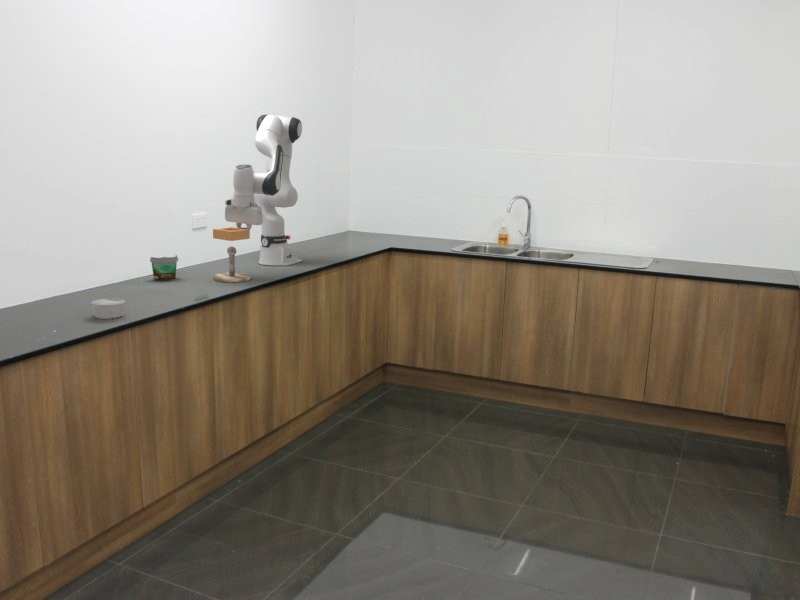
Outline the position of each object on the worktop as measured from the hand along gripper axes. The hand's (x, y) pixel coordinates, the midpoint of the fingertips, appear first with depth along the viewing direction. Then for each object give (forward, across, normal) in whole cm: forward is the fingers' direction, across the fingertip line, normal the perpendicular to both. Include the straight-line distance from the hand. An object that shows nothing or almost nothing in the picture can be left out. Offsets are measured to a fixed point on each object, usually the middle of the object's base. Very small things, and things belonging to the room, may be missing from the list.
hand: (244, 233), depth 346 cm
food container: (+20, +19, +27) cm, 39 cm away
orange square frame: (+2, 0, +6) cm, 6 cm away
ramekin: (+20, -18, +84) cm, 88 cm away
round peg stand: (+20, 0, +7) cm, 21 cm away
